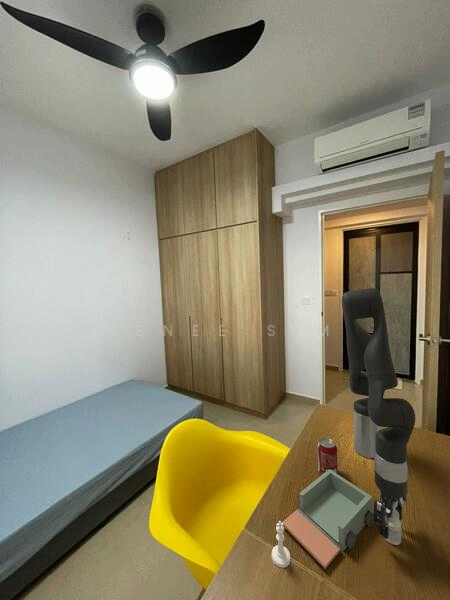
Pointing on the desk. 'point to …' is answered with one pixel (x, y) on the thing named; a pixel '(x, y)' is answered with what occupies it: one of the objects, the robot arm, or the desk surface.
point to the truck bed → (337, 508)
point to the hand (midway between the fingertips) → (390, 526)
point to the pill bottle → (394, 529)
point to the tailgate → (312, 537)
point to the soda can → (327, 455)
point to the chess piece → (280, 549)
